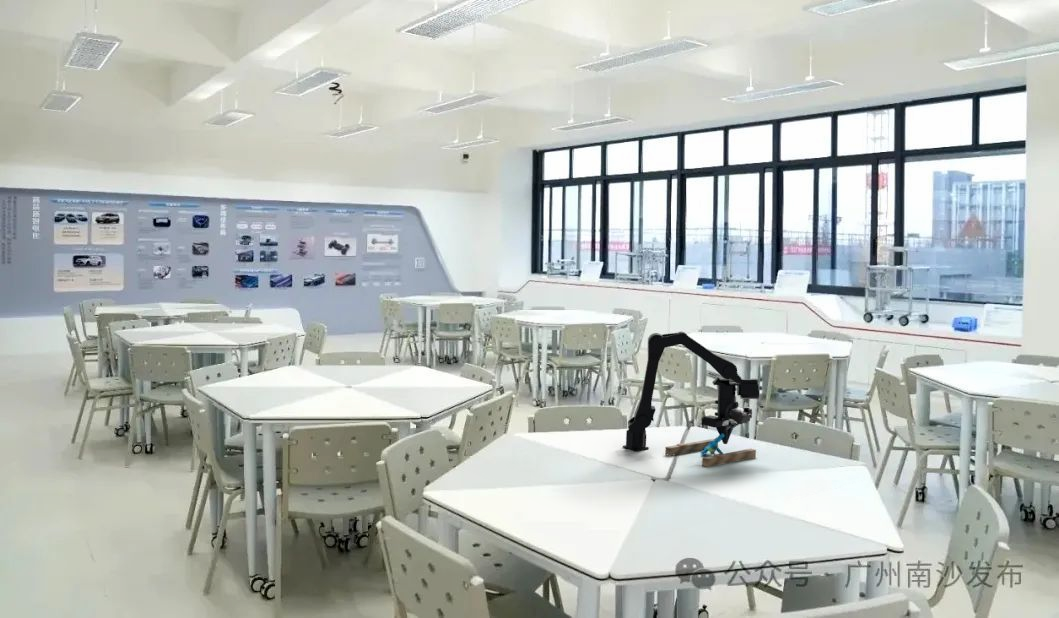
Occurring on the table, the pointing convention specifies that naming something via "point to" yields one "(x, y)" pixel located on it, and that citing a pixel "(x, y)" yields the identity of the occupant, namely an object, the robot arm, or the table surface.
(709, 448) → the gear
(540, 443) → the table surface
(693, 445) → the guide channel
